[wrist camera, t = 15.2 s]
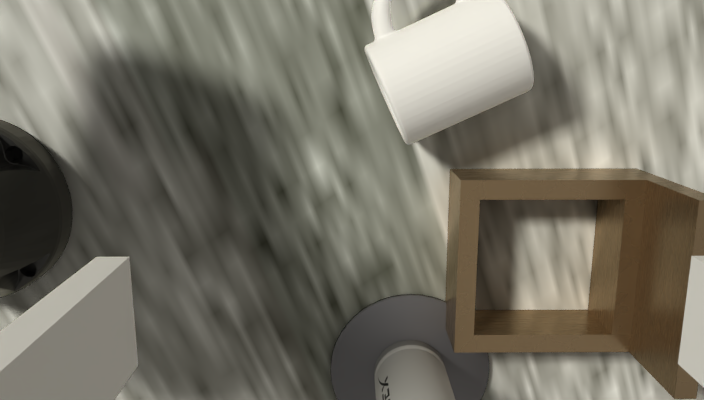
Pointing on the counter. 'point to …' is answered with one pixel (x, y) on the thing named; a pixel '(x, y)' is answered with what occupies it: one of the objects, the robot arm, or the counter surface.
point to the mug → (448, 64)
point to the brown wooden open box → (607, 268)
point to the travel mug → (411, 373)
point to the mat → (394, 326)
